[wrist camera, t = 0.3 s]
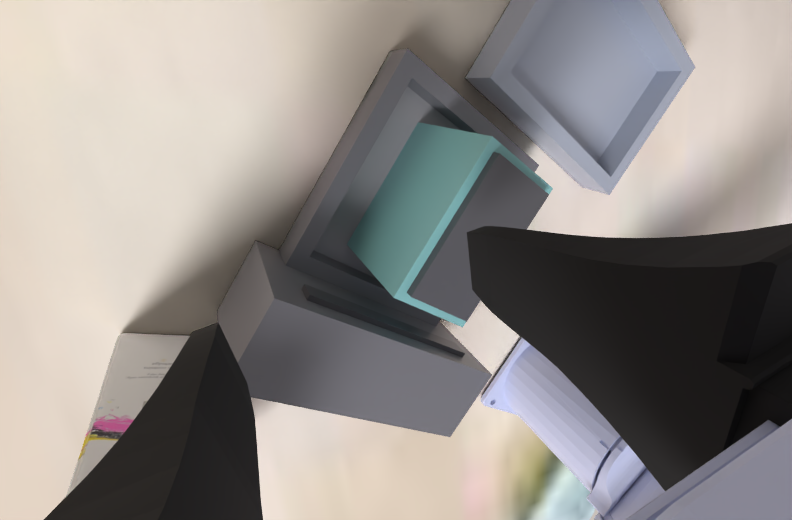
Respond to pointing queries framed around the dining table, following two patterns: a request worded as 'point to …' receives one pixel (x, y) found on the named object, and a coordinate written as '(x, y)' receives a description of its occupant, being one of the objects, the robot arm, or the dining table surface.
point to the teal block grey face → (442, 216)
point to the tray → (584, 79)
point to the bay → (356, 282)
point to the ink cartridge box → (125, 392)
